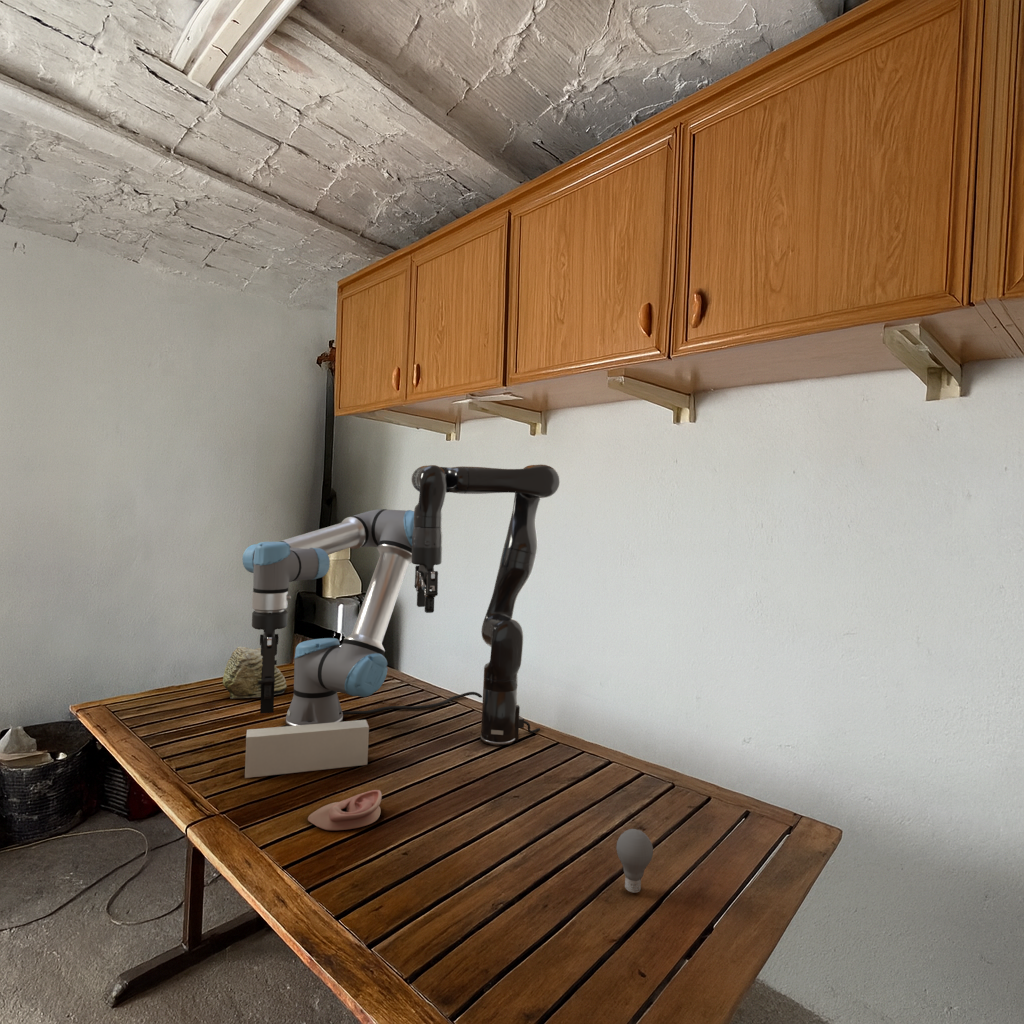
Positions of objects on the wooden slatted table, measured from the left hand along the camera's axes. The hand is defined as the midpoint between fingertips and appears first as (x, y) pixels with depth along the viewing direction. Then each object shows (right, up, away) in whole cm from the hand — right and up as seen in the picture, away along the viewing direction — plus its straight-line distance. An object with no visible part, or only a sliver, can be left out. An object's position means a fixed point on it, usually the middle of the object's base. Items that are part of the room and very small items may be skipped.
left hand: (266, 702), depth 144 cm
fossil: (-25, -14, +54) cm, 61 cm away
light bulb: (+76, -20, -39) cm, 88 cm away
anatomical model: (+23, -17, -19) cm, 34 cm away
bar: (+8, -16, +4) cm, 18 cm away
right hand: (+34, +19, +15) cm, 42 cm away
